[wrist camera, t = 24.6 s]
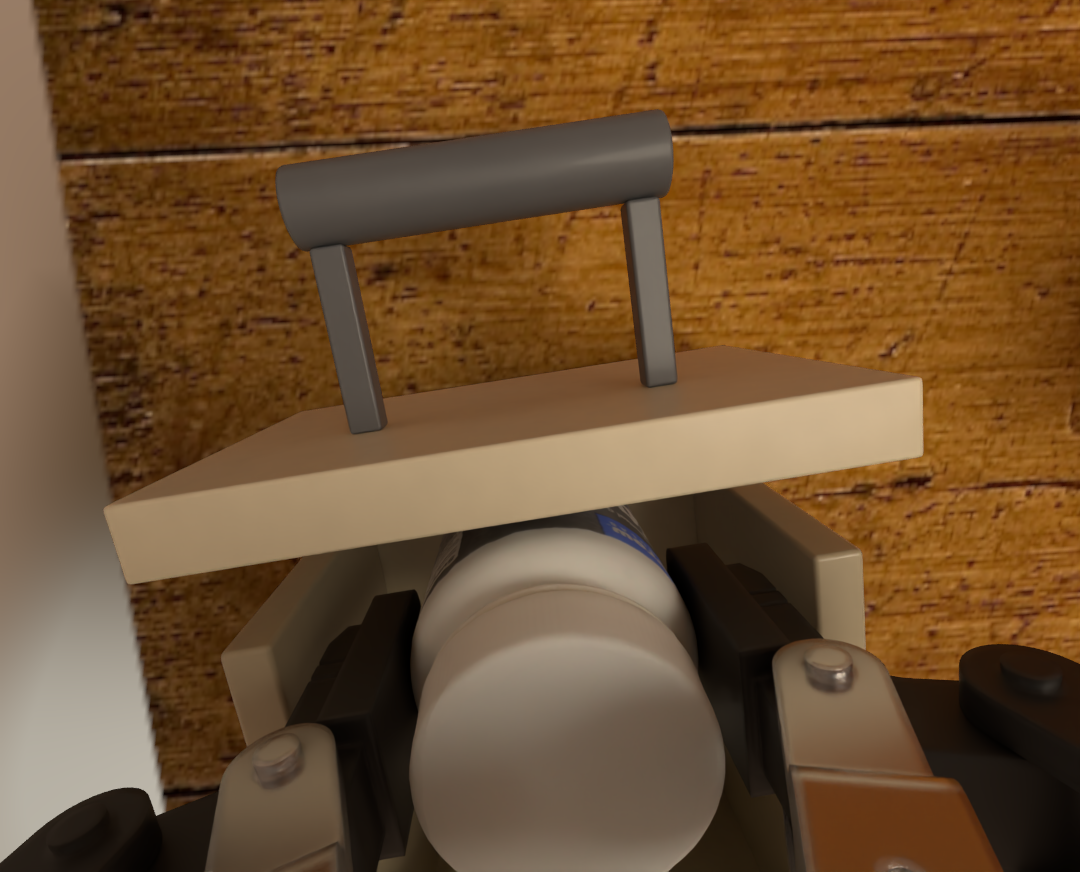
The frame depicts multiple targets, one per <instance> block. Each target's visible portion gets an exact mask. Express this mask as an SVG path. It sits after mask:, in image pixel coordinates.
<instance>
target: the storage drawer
mask: <svg viewBox="0 0 1080 872" xmlns="http://www.w3.org/2000/svg"><path fill="white" fill-rule="evenodd" d="M672 174H673V143H672V136H671V130H670V126H669V123H668V120H667V117H666V115H665V113H664V112H663V111H661V110H658V109H657V110H650V111H643V112H637V113H630V114H623V115H617V116H610V117H603V118H597V119H590V120H583V121H577V122H570V123H563V124H556V125H550V126H543V127H536V128H530V129H523V130H516V131H510V132H503V133H496V134H490V135H483V136H476V137H469V138H463V139H456V140H449V141H443V142H436V143H429V144H423V145H416V146H409V147H402V148H396V149H389V150H382V151H376V152H369V153H362V154H356V155H349V156H342V157H336V158H329V159H322V160H315V161H309V162H302V163H295V164H289V165H283V166H281V167H279V168H278V170H277V172H276V193H277V199H278V204H279V208H280V211H281V215H282V218H283V221H284V223H285V226H286V228H287V230H288V232H289V234H290V236H291V238H292V240H293V241H294V243H295V244H296V245H297V247H298V248H299V249H301V250H303V251H307V252H308V251H310V256H311V261H312V265H313V270H314V274H315V278H316V283H317V287H318V292H319V296H320V301H321V305H322V309H323V314H324V318H325V323H326V327H327V332H328V336H329V341H330V345H331V349H332V354H333V358H334V363H335V367H336V372H337V376H338V380H339V385H340V389H341V394H342V398H343V403H344V405H339V406H333V407H327V408H320V409H314V410H307V411H301V412H299V413H297V414H295V415H293V416H291V417H289V418H287V419H285V420H283V421H281V422H279V423H276V424H274V425H272V426H270V427H268V428H266V429H264V430H262V431H260V432H258V433H256V434H254V435H252V436H250V437H247V438H245V439H243V440H241V441H239V442H237V443H235V444H233V445H231V446H229V447H227V448H225V449H223V450H221V451H219V452H216V453H214V454H212V455H210V456H208V457H206V458H204V459H202V460H200V461H198V462H196V463H194V464H192V465H190V466H188V467H185V468H183V469H181V470H179V471H177V472H175V473H173V474H171V475H169V476H167V477H165V478H163V479H161V480H159V481H156V482H154V483H152V484H150V485H148V486H146V487H144V488H142V489H140V490H138V491H136V492H134V493H132V494H130V495H128V496H125V497H123V498H121V499H119V500H117V501H115V502H113V503H111V504H109V505H107V506H106V507H104V511H103V512H104V515H105V518H106V521H107V524H108V527H109V530H110V533H111V537H112V540H113V543H114V546H115V549H116V552H117V555H118V558H119V561H120V564H121V567H122V570H123V573H124V576H125V579H126V582H127V583H128V584H137V583H143V582H149V581H155V580H162V579H168V578H174V577H180V576H186V575H193V574H199V573H205V572H211V571H217V570H224V569H230V568H236V567H242V566H248V565H255V564H261V563H267V562H273V561H279V560H286V559H292V558H298V557H302V559H301V560H300V561H299V562H298V563H297V565H296V566H295V567H294V568H293V569H292V571H291V572H290V573H289V574H288V575H287V577H286V578H285V579H284V580H283V581H282V583H281V584H280V585H279V586H278V587H277V588H276V590H275V591H274V592H273V593H272V594H271V596H270V597H269V598H268V599H267V600H266V602H265V603H264V604H263V605H262V606H261V608H260V609H259V610H258V611H257V612H256V613H255V615H254V616H253V617H252V618H251V619H250V621H249V622H248V623H247V624H246V625H245V627H244V628H243V629H242V630H241V631H240V633H239V634H238V635H237V636H236V637H235V639H234V640H233V641H232V642H231V643H230V644H229V646H228V647H227V648H226V649H225V650H224V652H223V653H222V655H221V661H222V665H223V668H224V672H225V675H226V678H227V682H228V685H229V688H230V692H231V695H232V698H233V702H234V705H235V708H236V712H237V715H238V718H239V722H240V725H241V728H242V732H243V735H244V738H245V742H246V745H247V747H248V746H249V745H251V744H252V743H253V742H255V741H257V740H258V739H260V738H261V737H263V736H265V735H267V734H269V733H271V732H273V731H276V730H278V729H281V728H284V727H285V725H286V724H287V722H288V720H289V718H290V716H291V714H292V712H293V710H294V709H295V707H296V705H297V703H298V701H299V699H300V697H301V695H302V694H303V692H304V690H305V688H306V686H307V684H308V682H311V677H312V675H313V673H314V671H315V669H316V667H317V666H319V662H320V660H321V658H322V656H323V654H324V652H325V651H326V649H327V647H328V645H329V643H331V642H332V641H333V640H334V639H335V638H336V637H337V636H338V635H340V634H341V633H342V632H343V631H344V630H345V629H346V628H347V627H348V626H353V625H360V624H362V622H363V619H364V617H365V615H366V613H367V611H368V609H369V607H370V604H371V602H372V600H373V598H374V597H375V596H376V595H382V594H388V593H394V592H400V591H406V590H413V589H415V590H416V591H417V593H418V596H419V599H420V603H421V607H422V603H423V600H424V597H425V593H426V590H427V586H428V583H429V580H430V575H431V573H432V570H433V567H434V563H435V560H436V557H437V554H438V551H439V547H440V544H441V541H442V538H443V535H444V534H447V533H453V532H459V531H465V530H472V529H478V528H484V527H490V526H496V525H503V524H509V523H515V522H521V521H527V520H534V519H540V518H546V517H552V516H558V515H565V514H571V513H577V512H583V511H589V510H596V509H602V508H608V507H614V506H620V505H628V507H629V509H630V510H631V512H632V514H633V515H634V517H635V519H636V520H637V522H638V524H639V525H640V527H641V529H642V530H643V532H644V534H645V536H646V538H647V539H648V541H649V542H650V544H651V546H652V548H653V549H654V551H655V552H656V554H657V556H658V557H659V559H660V561H661V562H662V564H663V566H664V568H665V569H666V571H667V565H666V550H667V548H673V547H679V546H685V545H692V544H698V543H704V542H706V543H707V544H708V545H709V546H710V547H711V548H712V550H713V551H714V552H715V553H716V554H717V556H718V557H719V558H720V559H721V560H722V561H723V563H724V564H725V565H729V564H735V563H741V564H743V565H745V566H747V567H749V568H752V569H754V570H756V571H758V572H760V573H762V574H763V575H764V576H765V577H766V578H767V579H768V580H769V581H770V582H771V583H772V584H773V585H774V586H775V587H776V591H779V592H780V593H781V594H782V595H783V596H784V597H785V598H786V599H787V601H788V603H791V604H792V605H793V606H794V607H795V608H796V609H797V610H798V612H799V613H800V614H801V615H802V616H803V617H804V618H805V619H806V620H807V621H808V622H809V623H810V624H811V625H812V626H813V627H814V628H815V629H816V630H817V631H818V633H819V634H820V635H821V636H822V637H823V638H824V639H831V640H837V641H842V642H846V643H850V644H852V645H855V646H858V647H860V648H862V649H865V650H866V643H865V615H864V588H863V560H862V552H861V550H860V549H859V548H858V547H856V546H855V545H853V544H852V543H850V542H849V541H847V540H846V539H844V538H843V537H841V536H840V535H838V534H837V533H835V532H834V531H833V530H831V529H830V528H828V527H827V526H825V525H824V524H822V523H821V522H819V521H818V520H816V519H815V518H813V517H812V516H810V515H809V514H808V513H806V512H805V511H803V510H802V509H800V508H799V507H797V506H796V505H794V504H793V503H791V502H790V501H788V500H787V499H785V498H784V497H783V496H781V495H780V494H778V493H777V492H775V491H774V490H772V489H771V488H769V487H768V486H766V485H765V484H763V482H769V481H775V480H781V479H788V478H794V477H800V476H806V475H812V474H819V473H825V472H831V471H837V470H843V469H850V468H856V467H862V466H868V465H874V464H881V463H887V462H893V461H899V460H905V459H912V458H918V457H921V456H922V455H923V386H922V379H921V378H920V377H916V376H910V375H904V374H897V373H891V372H885V371H879V370H873V369H867V368H860V367H854V366H848V365H842V364H836V363H829V362H823V361H817V360H811V359H805V358H798V357H792V356H786V355H780V354H774V353H767V352H761V351H755V350H749V349H743V348H736V347H730V346H724V345H722V346H715V347H709V348H703V349H696V350H690V351H683V352H677V353H675V348H674V338H673V328H672V318H671V309H670V299H669V289H668V279H667V269H666V259H665V249H664V239H663V230H662V220H661V210H660V200H659V198H662V197H664V196H666V195H667V193H668V191H669V189H670V185H671V181H672ZM623 203H625V204H624V205H623V206H622V207H621V217H622V225H623V234H624V243H625V252H626V260H627V269H628V278H629V286H630V295H631V304H632V312H633V321H634V330H635V338H636V347H637V356H638V359H632V360H626V361H620V362H613V363H607V364H601V365H594V366H588V367H582V368H575V369H569V370H562V371H556V372H550V373H543V374H537V375H531V376H524V377H518V378H511V379H505V380H499V381H492V382H486V383H480V384H473V385H467V386H460V387H454V388H448V389H441V390H435V391H429V392H422V393H416V394H409V395H403V396H397V397H390V398H384V399H383V397H382V392H381V387H380V383H379V378H378V373H377V368H376V364H375V359H374V354H373V349H372V345H371V340H370V335H369V330H368V326H367V321H366V316H365V311H364V307H363V302H362V297H361V292H360V288H359V283H358V278H357V273H356V269H355V264H354V259H353V254H352V250H351V249H350V248H349V247H347V245H354V244H360V243H367V242H374V241H380V240H387V239H393V238H400V237H406V236H413V235H420V234H426V233H433V232H439V231H446V230H452V229H459V228H466V227H472V226H479V225H485V224H492V223H498V222H505V221H512V220H518V219H525V218H531V217H538V216H545V215H551V214H558V213H564V212H571V211H577V210H584V209H591V208H597V207H604V206H610V205H617V204H623ZM723 744H724V742H723ZM724 751H725V780H724V786H723V791H722V795H721V798H720V801H719V805H718V807H717V810H716V813H715V814H714V817H713V819H712V821H711V823H710V825H709V826H708V828H707V829H706V831H705V833H704V834H703V836H702V837H701V839H700V840H699V841H698V843H697V844H696V845H695V847H694V848H693V849H692V850H691V851H690V852H689V853H688V854H687V855H686V856H685V857H684V858H683V859H682V860H681V861H679V862H678V863H677V864H675V865H674V866H673V867H672V868H671V869H670V870H669V871H668V872H789V867H788V859H787V851H786V843H785V835H784V822H783V808H782V805H781V804H780V802H779V800H778V798H777V796H776V794H771V795H765V796H760V797H754V798H751V796H750V794H749V792H748V790H747V788H746V786H745V784H744V782H743V780H742V778H741V776H740V774H739V772H738V770H737V768H736V766H735V764H734V762H733V760H732V758H731V756H730V754H729V752H728V750H727V748H726V746H725V744H724ZM377 872H457V871H455V870H454V869H453V868H452V867H451V866H450V865H449V864H448V863H447V862H446V861H445V860H444V859H443V858H442V857H441V856H440V855H439V854H438V852H437V851H436V850H435V848H434V847H433V846H432V844H431V843H430V842H429V840H428V839H427V837H426V835H425V833H424V831H423V829H422V827H421V825H420V823H419V820H418V818H417V815H416V812H415V808H414V811H413V816H412V822H411V827H410V832H409V838H408V843H407V848H406V854H405V856H402V857H396V858H390V859H384V860H379V863H378V867H377Z"/></svg>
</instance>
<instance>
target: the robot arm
mask: <svg viewBox="0 0 1080 872" xmlns="http://www.w3.org/2000/svg"><path fill="white" fill-rule="evenodd" d="M666 565H667V573H668V574H669V576H670V577H671V579H672V580H673V582H674V583H675V585H676V587H677V589H678V591H679V593H680V595H681V597H682V599H683V600H684V602H685V604H686V606H687V608H688V611H689V613H690V616H691V619H692V622H693V625H694V629H695V634H696V639H697V646H698V675H699V678H700V681H701V683H702V686H703V688H704V690H705V693H706V695H707V697H708V699H709V701H710V703H711V705H712V708H713V710H714V713H715V715H716V718H717V720H718V723H719V726H720V730H721V733H722V737H723V742H724V744H725V746H726V748H727V750H728V752H729V754H730V756H731V758H732V760H733V762H734V764H735V766H736V768H737V770H738V772H739V774H740V776H741V778H742V780H743V782H744V784H745V786H746V788H747V790H748V792H749V794H750V796H751V798H754V797H760V796H765V795H771V794H776V796H777V798H778V800H779V802H780V804H781V805H782V808H783V822H784V835H785V843H786V851H787V859H788V867H789V872H1080V664H1078V663H1076V662H1074V661H1072V660H1069V659H1067V658H1064V657H1062V656H1060V655H1057V654H1054V653H1051V652H1048V651H1044V650H1040V649H1036V648H1031V647H1026V646H1019V645H1008V644H994V645H985V646H980V647H976V648H973V649H971V650H969V651H967V652H966V653H965V654H964V655H962V657H961V659H960V662H959V681H954V680H933V679H913V678H901V677H895V676H890V675H889V672H888V670H887V669H886V667H885V665H884V664H883V663H882V662H881V661H880V660H879V659H878V658H877V657H876V656H874V655H873V654H871V653H870V652H868V651H866V650H865V649H862V648H860V647H858V646H855V645H852V644H850V643H846V642H842V641H837V640H831V639H824V638H823V637H822V636H821V635H820V634H819V633H818V631H817V630H816V629H815V628H814V627H813V626H812V625H811V624H810V623H809V622H808V621H807V620H806V619H805V618H804V617H803V616H802V615H801V614H800V613H799V612H798V610H797V609H796V608H795V607H794V606H793V605H792V604H791V603H788V601H787V599H786V598H785V597H784V596H783V595H782V594H781V593H780V592H779V591H776V587H775V586H774V585H773V584H772V583H771V582H770V581H769V580H768V579H767V578H766V577H765V576H764V575H763V574H762V573H760V572H758V571H756V570H754V569H752V568H749V567H747V566H745V565H743V564H741V563H735V564H729V565H725V564H724V563H723V561H722V560H721V559H720V558H719V557H718V556H717V554H716V553H715V552H714V551H713V550H712V548H711V547H710V546H709V545H708V544H707V543H706V542H704V543H698V544H692V545H685V546H679V547H673V548H667V550H666ZM420 610H421V603H420V599H419V596H418V593H417V591H416V590H415V589H413V590H406V591H400V592H394V593H388V594H382V595H376V596H375V597H374V598H373V600H372V602H371V604H370V607H369V609H368V611H367V613H366V615H365V617H364V619H363V622H362V624H360V625H353V626H348V627H347V628H346V629H345V630H344V631H343V632H342V633H341V634H340V635H338V636H337V637H336V638H335V639H334V640H333V641H332V642H331V643H329V645H328V647H327V649H326V651H325V652H324V654H323V656H322V658H321V660H320V662H319V666H317V667H316V669H315V671H314V673H313V675H312V677H311V682H308V684H307V686H306V688H305V690H304V692H303V694H302V695H301V697H300V699H299V701H298V703H297V705H296V707H295V709H294V710H293V712H292V714H291V716H290V718H289V720H288V722H287V724H286V725H285V727H284V728H281V729H278V730H276V731H273V732H271V733H269V734H267V735H265V736H263V737H261V738H260V739H258V740H257V741H255V742H253V743H252V744H251V745H249V746H248V747H247V748H245V749H244V750H243V751H242V752H241V753H240V754H238V755H237V756H236V758H235V759H234V760H233V761H232V762H231V763H230V765H229V766H228V767H227V769H226V771H225V772H224V774H223V776H222V780H221V783H220V789H219V791H217V792H215V793H213V794H211V795H208V796H206V797H203V798H201V799H198V800H196V801H193V802H190V803H188V804H185V805H183V806H180V807H178V808H175V809H173V810H170V811H167V812H165V813H162V814H160V815H157V816H156V815H155V812H154V810H153V806H152V804H151V801H150V798H149V795H148V794H147V793H146V792H145V791H144V790H141V789H139V788H121V789H114V790H111V791H108V792H104V793H101V794H98V795H96V796H93V797H91V798H89V799H87V800H84V801H82V802H80V803H78V804H77V805H75V806H73V807H71V808H69V809H67V810H66V811H64V812H63V813H61V814H59V815H58V816H57V817H55V818H54V819H52V820H51V821H49V822H48V823H46V824H45V825H44V826H43V827H42V828H40V829H39V830H38V831H37V832H35V833H34V834H33V835H32V836H31V837H30V838H29V839H28V840H26V841H25V842H24V843H23V844H22V845H21V846H19V847H18V848H17V849H16V850H15V851H14V852H13V853H11V854H10V855H9V856H8V857H7V858H6V859H4V860H3V861H2V862H1V863H0V872H377V867H378V863H379V860H384V859H390V858H396V857H402V856H405V854H406V848H407V843H408V838H409V832H410V827H411V822H412V816H413V811H414V805H413V801H412V795H411V788H410V782H409V765H410V757H411V750H412V742H413V738H414V734H415V729H416V724H417V718H418V709H417V706H416V703H415V699H414V695H413V690H412V683H411V673H410V658H411V648H412V637H413V634H414V630H415V627H416V624H417V621H418V618H419V614H420Z"/></svg>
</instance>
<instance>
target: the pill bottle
mask: <svg viewBox="0 0 1080 872" xmlns="http://www.w3.org/2000/svg"><path fill="white" fill-rule="evenodd" d="M410 673H411V683H412V690H413V695H414V699H415V703H416V706H417V709H418V718H417V724H416V729H415V734H414V738H413V742H412V750H411V757H410V765H409V782H410V788H411V795H412V801H413V805H414V808H415V812H416V815H417V818H418V820H419V823H420V825H421V827H422V829H423V831H424V833H425V835H426V837H427V839H428V840H429V842H430V843H431V844H432V846H433V847H434V848H435V850H436V851H437V852H438V854H439V855H440V856H441V857H442V858H443V859H444V860H445V861H446V862H447V863H448V864H449V865H450V866H451V867H452V868H453V869H454V870H455V871H457V872H668V871H669V870H670V869H671V868H672V867H673V866H674V865H675V864H677V863H678V862H679V861H681V860H682V859H683V858H684V857H685V856H686V855H687V854H688V853H689V852H690V851H691V850H692V849H693V848H694V847H695V845H696V844H697V843H698V841H699V840H700V839H701V837H702V836H703V834H704V833H705V831H706V829H707V828H708V826H709V825H710V823H711V821H712V819H713V817H714V814H715V813H716V810H717V807H718V805H719V801H720V798H721V795H722V791H723V786H724V780H725V751H724V744H723V737H722V733H721V730H720V726H719V723H718V720H717V718H716V715H715V713H714V710H713V708H712V705H711V703H710V701H709V699H708V697H707V695H706V693H705V690H704V688H703V686H702V683H701V681H700V678H699V675H698V646H697V639H696V634H695V629H694V625H693V622H692V619H691V616H690V613H689V611H688V608H687V606H686V604H685V602H684V600H683V599H682V597H681V595H680V593H679V591H678V589H677V587H676V585H675V583H674V582H673V580H672V579H671V577H670V576H669V574H668V573H667V571H666V569H665V568H664V566H663V564H662V562H661V561H660V559H659V557H658V556H657V554H656V552H655V551H654V549H653V548H652V546H651V544H650V542H649V541H648V539H647V538H646V536H645V534H644V532H643V530H642V529H641V527H640V525H639V524H638V522H637V520H636V519H635V517H634V515H633V514H632V512H631V510H630V509H629V507H628V505H620V506H614V507H608V508H602V509H596V510H589V511H583V512H577V513H571V514H565V515H558V516H552V517H546V518H540V519H534V520H527V521H521V522H515V523H509V524H503V525H496V526H490V527H484V528H478V529H472V530H465V531H459V532H453V533H447V534H444V535H443V538H442V541H441V544H440V547H439V551H438V554H437V557H436V560H435V563H434V567H433V570H432V573H431V575H430V580H429V583H428V586H427V590H426V593H425V597H424V600H423V603H422V607H421V610H420V614H419V618H418V621H417V624H416V627H415V630H414V634H413V637H412V648H411V658H410Z"/></svg>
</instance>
